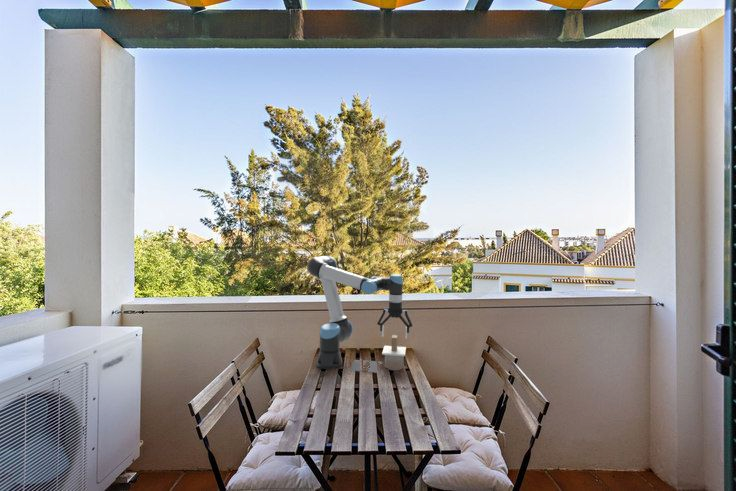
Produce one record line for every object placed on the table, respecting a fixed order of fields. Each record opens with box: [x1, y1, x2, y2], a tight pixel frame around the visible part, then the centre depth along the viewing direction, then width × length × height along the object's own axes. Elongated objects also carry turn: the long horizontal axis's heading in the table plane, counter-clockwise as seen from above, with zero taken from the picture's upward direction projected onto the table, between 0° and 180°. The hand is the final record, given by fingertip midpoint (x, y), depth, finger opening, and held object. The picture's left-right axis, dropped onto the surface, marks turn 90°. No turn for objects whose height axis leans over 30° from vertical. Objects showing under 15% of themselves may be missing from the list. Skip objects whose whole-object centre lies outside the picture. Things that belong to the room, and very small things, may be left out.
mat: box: [349, 359, 383, 374], centre depth 217 cm, size 17×17×1 cm
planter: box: [384, 355, 404, 371], centre depth 217 cm, size 11×11×10 cm
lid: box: [381, 334, 407, 357], centre depth 216 cm, size 13×13×9 cm
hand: (394, 337), depth 216 cm, fingers open, 13 cm apart
